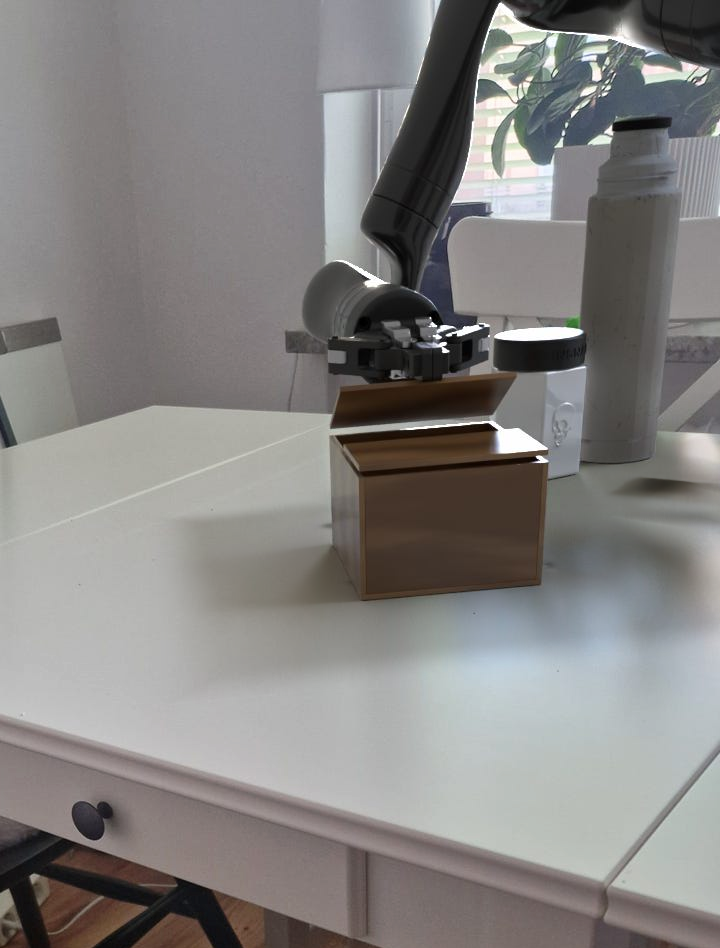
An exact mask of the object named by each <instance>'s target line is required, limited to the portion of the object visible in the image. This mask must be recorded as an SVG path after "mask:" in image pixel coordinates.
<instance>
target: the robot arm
mask: <svg viewBox="0 0 720 948" xmlns="http://www.w3.org/2000/svg"><path fill="white" fill-rule="evenodd" d="M499 8H500V9H501V10H502V11H503V12H504V13H505V14H506V16H508V17H509V18H510V19H511V20H512V21H514V22H515V23H517V24H519V25H520V26H522V27H524V28H526V29H530V30H533V31H534V30H535V31H540V32H549V33H561V34H563V33H565V34H575V35H585V36H586V35H588V36H597V37H602V38H603V37H604V38H608V39H612V40H615V41H618V42H620V43H623V44H626V45H627V46H630V47H634V48H637V49H641V50H644V51H648V52H651V53H652V52H653V53H655V54H659V55H662V56H665V57H667V58H671V59H673V60H675V61H678V62H682V63H685V64H691V65H692V66H693V65H694V66H696V67H700V68H705V69H708V70H712V71H716V72H720V0H439V4H438V7H437V10H436V13H435V17H434V20H433V24H432V27H431V31H430V34H429V38H428V41H427V45H426V48H425V52H424V55H423V59H422V62H421V65H420V68H419V72H418V75H417V79H416V82H415V86H414V88H413V92H412V95H411V97H410V101H409V104H408V106H407V109H406V112H405V114H404V116H403V119H402V123H401V125H400V128H399V130H398V133H397V135H396V137H395V140H394V142H393V145H392V147H391V149H390V151H389V154H388V155H387V157H386V160H385V161H384V165H383V166H382V168H381V171H380V173H379V175H378V178H377V179H376V182H375V184H374V187H373V188H372V191H371V194H370V196H369V198H368V200H367V202H366V204H365V206H364V209H363V211H362V215H361V218H360V221H359V229H360V231H361V234H362V235H363V236H364V237H365V238H366V239H367V240H368V241H369V242H370V243H371V244H372V245H373V247H375V248H376V249H378V251H380V252H381V253H382V254H383V256H384V257H385V258H386V260H387V262H388V264H389V268H390V281H389V282H387V281H386V282H385V281H383V280H381V279H379V278H377V277H376V276H374V275H372V274H370V273H368V272H367V271H364V270H363V269H362V268H359V267H358V266H355V265H353V264H352V263H349V262H348V261H345V260H340V259H339V260H333V261H330V262H328V263H325V264H324V265H323V266H322V267H321V268H320V269H318V270H317V271H316V273H315V274H314V275H313V276H312V277H311V278H310V280H309V282H308V284H307V286H306V288H305V291H304V294H303V297H302V301H301V320H302V325H303V327H304V329H305V331H306V332H307V334H308V335H309V336H311V337H312V338H314V339H316V340H318V341H320V342H322V343H323V344H326V345H327V373H328V374H331V375H333V376H339V375H342V376H343V375H344V376H353V377H361V378H362V379H363V381H365V382H366V384H377V383H389V382H400V381H412V380H418V381H420V382H432V381H442V378H444V376H443V375H448V374H456V373H458V372H462V371H463V370H467V369H469V368H471V367H472V368H473V367H474V366H476V365H477V366H478V365H479V364H482V363H484V362H486V361H489V358H490V333H491V332H490V331H491V329H490V328H491V327H490V324H486V323H484V322H481V323H478V324H476V325H472V326H464V327H463V328H462V329H460V330H458V329H457V328H456V327H455V326H451V325H445V322H444V320H443V317H442V315H441V314H440V312H439V310H438V309H437V307H436V305H434V303H433V302H432V301H431V300H430V299H429V298H428V297H426V296H425V295H423V294H422V293H420V289H421V284H422V280H423V277H424V273H425V269H426V265H427V262H428V258H429V255H430V253H431V250H432V247H433V245H434V242H435V240H436V238H437V235H438V234H439V231H440V229H441V227H442V225H443V223H444V221H445V219H446V217H447V214H448V212H449V210H450V208H451V206H452V204H453V201H454V200H455V198H456V195H457V193H458V191H459V189H460V186H461V184H462V181H463V179H464V176H465V172H466V171H467V170H466V169H467V165H468V161H469V158H470V152H471V147H472V141H473V131H474V130H473V129H474V120H475V111H476V110H475V109H476V99H477V98H476V97H477V90H478V80H479V73H480V69H481V63H482V57H483V53H484V49H485V44H486V41H487V39H488V35H489V31H490V29H491V26H492V23H493V20H494V19H495V15H496V13H497V11H498V9H499Z"/></svg>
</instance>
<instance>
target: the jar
mask: <svg viewBox="0 0 720 948" xmlns="http://www.w3.org/2000/svg"><path fill="white" fill-rule="evenodd" d="M586 337H587V333H586V332H585V331H583V330H580V329H572V328H565V327H536V328H535V327H534V328H523V329H514V330H507V331H504V332H500V333H497V334H496V335H494V337H493V352H492V353H493V354H492V365H491V369H490V370H491V371H490V374H493V373H505V372H517V377H516V379H515V381H514V382H513V384H512V385H511V387H510V388H509V390H508V392H507V393H506V395H505V396H504V398H503V400H502V401H501V403H500V404H499V406H498V407H497V409H496V411H495V412H494V414H493V415H489V422H490V421H493V422H494V423H495V424H497V425H498V426H500V427H501V428H502V429H504V430H511V429H520V430H521V431H522V432H524V433H525V434H527V435H528V436H530V437H531V438H533V439H534V440H536V441H537V442H538V443H540V444H541V445H543V446H544V447H546V448H547V449H548V455H545V456H541V457H543V458H544V459H545V460H547V461H548V462H549V466H548V481H549V480H554V479H558V478H563V477H569V476H572V475H576V474H578V473H579V471H580V461H581V460H580V447H581V434H582V422H583V409H584V396H585V383H586V370H587V367H586V366H585V365H584V364H583V363H584V362H585V354H586V349H587V343H586Z"/></svg>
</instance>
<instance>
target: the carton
mask: <svg viewBox="0 0 720 948" xmlns="http://www.w3.org/2000/svg"><path fill="white" fill-rule="evenodd" d="M328 439H329V440H328V441H329V445H328V446H329V473H330V476H329V477H330V505H331V506H330V508H331V543H332V545H333V547H334V549H335V551H336V553H337V556H338V557H339V560H340V561H341V563H342V565H343V567H344V569H345V571H346V573H347V575H348V578H349V579H350V581H351V583H352V585H353V587H354V590H355V592H356V593H357V595H358V597H359V599H360V601H372V600H383V599H393V598H403V597H413V596H414V597H416V596H426V595H437V594H438V595H439V594H448V593H458V592H459V593H460V592H461V593H462V592H471V591H482V590H493V589H504V588H506V589H507V588H513V587H514V588H515V587H527V586H538V585H542V576H543V575H542V573H543V561H544V560H543V559H544V545H545V544H544V541H545V529H546V528H545V527H546V512H547V499H548V498H547V496H548V483H549V482H548V481H549V480H548V466H549V462H548V461H547V460H545V459H544V458H543V457H541V456H545V455H548V449H547V448H546V447H544V446H543V445H541V444H540V443H538V442H537V441H536V440H534V439H533V438H531V437H530V436H528V435H527V434H525V433H524V432H522V431H521V430H520V429H511V430H504V429H502V428H501V427H500V426H498V425H497V424H495V423H494V422H493V421H490V420H489V421H482V422H481V421H480V422H479V421H478V422H470V423H467V422H466V423H457V424H446V425H434V426H433V425H432V426H423V427H412V428H400V429H387V430H376V431H365V432H353V433H341V434H330V435H329V436H328Z"/></svg>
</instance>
